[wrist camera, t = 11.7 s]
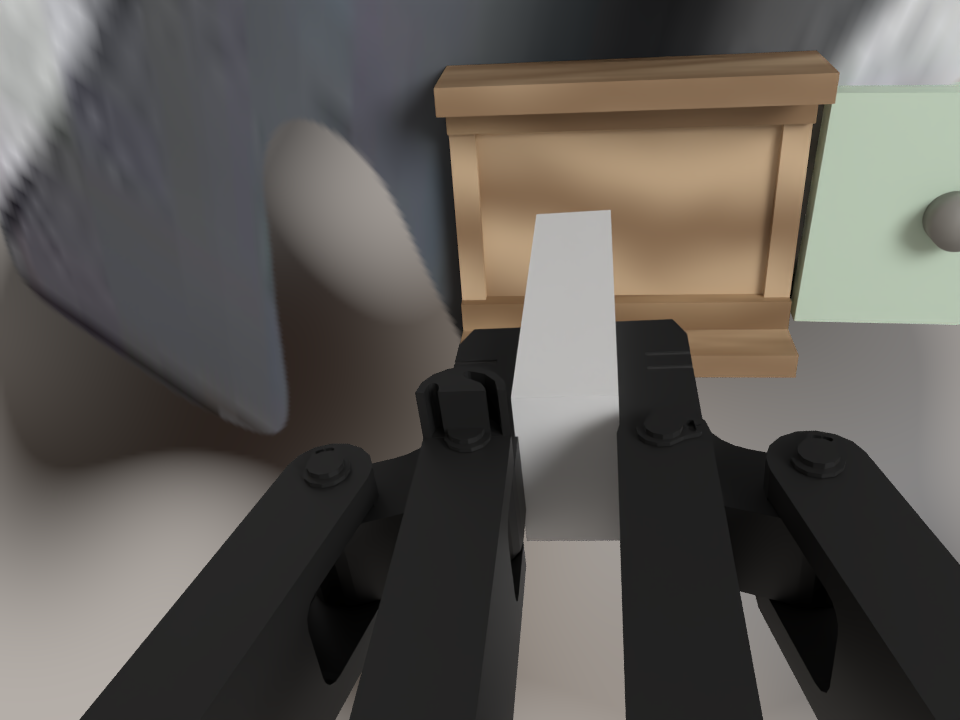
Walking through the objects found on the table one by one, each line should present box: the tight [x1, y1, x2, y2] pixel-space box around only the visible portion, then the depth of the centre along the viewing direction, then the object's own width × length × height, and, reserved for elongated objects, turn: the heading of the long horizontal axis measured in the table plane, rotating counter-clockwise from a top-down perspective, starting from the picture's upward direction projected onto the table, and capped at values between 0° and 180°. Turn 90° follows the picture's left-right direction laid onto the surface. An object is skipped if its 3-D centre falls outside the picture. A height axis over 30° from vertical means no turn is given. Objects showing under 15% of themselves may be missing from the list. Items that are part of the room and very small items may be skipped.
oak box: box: [434, 51, 840, 377], centre depth 40 cm, size 14×16×4 cm
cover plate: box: [790, 82, 960, 325], centre depth 40 cm, size 11×12×3 cm
